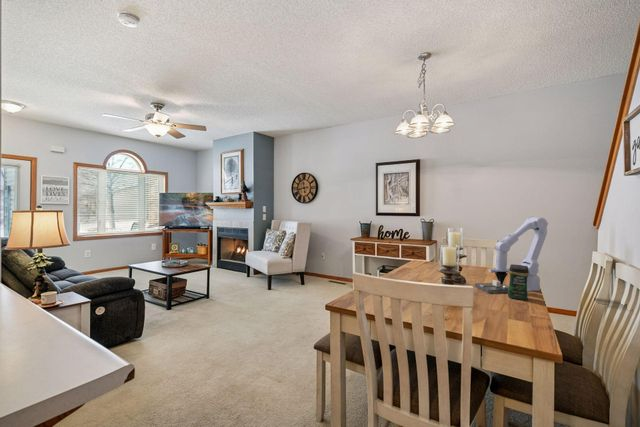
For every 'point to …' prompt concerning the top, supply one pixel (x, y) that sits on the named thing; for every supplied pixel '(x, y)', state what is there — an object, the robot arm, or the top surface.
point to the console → (492, 288)
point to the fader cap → (496, 283)
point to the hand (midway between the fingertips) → (500, 284)
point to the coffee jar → (518, 282)
